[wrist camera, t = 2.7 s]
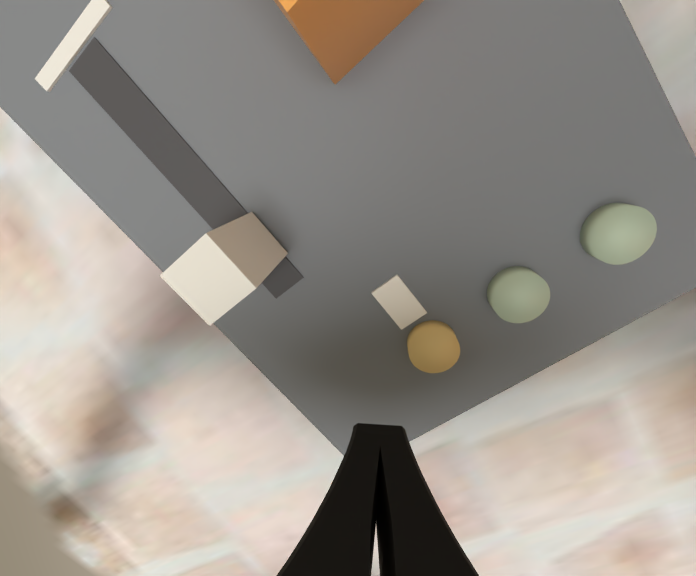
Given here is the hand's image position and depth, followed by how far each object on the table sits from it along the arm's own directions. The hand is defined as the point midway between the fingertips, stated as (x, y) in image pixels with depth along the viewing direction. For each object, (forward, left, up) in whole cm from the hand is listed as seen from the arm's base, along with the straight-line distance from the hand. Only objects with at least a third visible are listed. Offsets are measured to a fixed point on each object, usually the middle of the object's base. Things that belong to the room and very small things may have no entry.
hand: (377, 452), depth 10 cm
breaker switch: (+7, 0, -3) cm, 7 cm away
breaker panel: (+6, -4, -4) cm, 9 cm away
